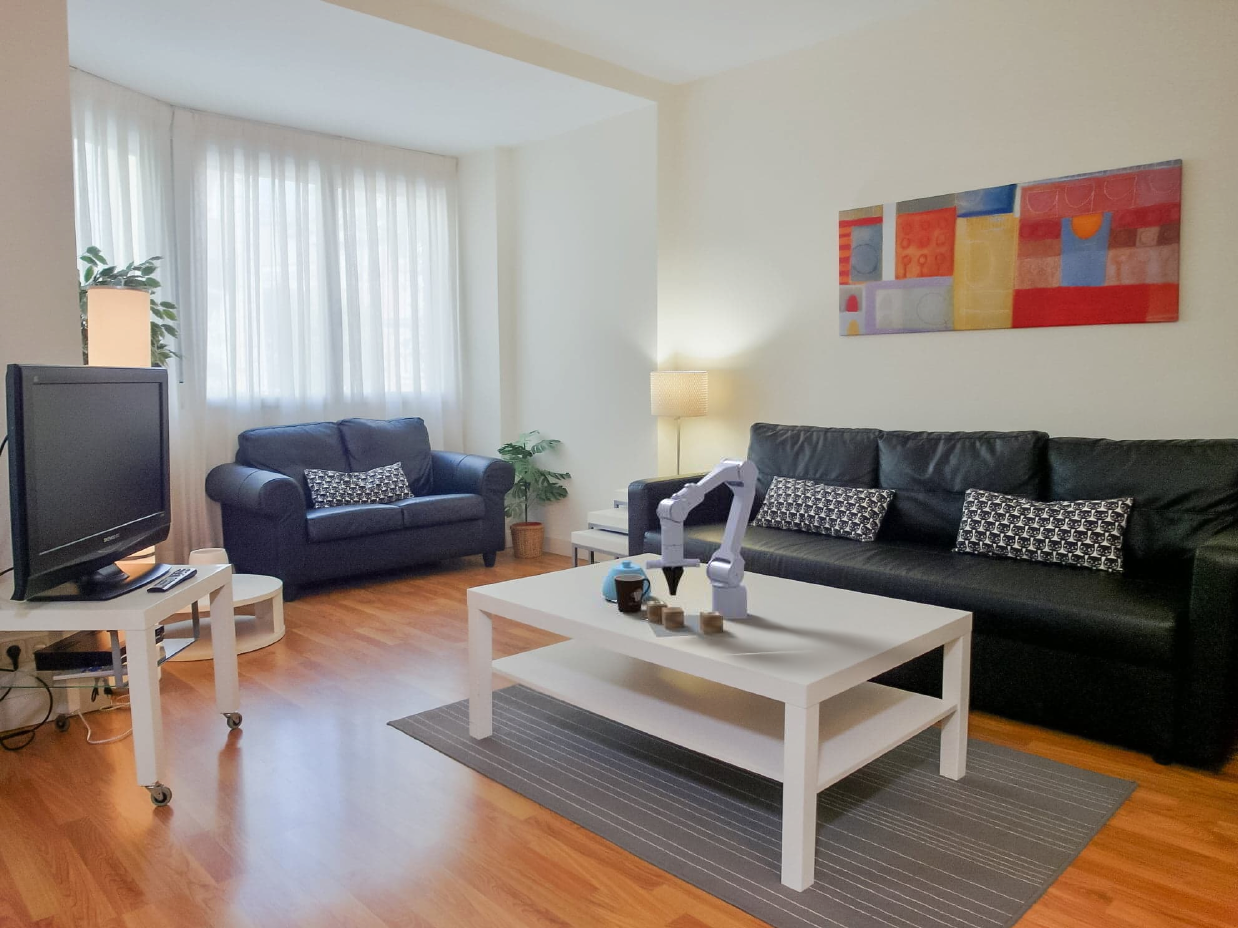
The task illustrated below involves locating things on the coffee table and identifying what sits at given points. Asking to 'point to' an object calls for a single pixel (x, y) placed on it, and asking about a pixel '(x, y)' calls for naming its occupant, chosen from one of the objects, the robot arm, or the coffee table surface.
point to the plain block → (672, 617)
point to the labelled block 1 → (655, 610)
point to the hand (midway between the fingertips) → (672, 594)
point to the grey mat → (689, 628)
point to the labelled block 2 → (711, 622)
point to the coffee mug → (630, 592)
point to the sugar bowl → (623, 569)
